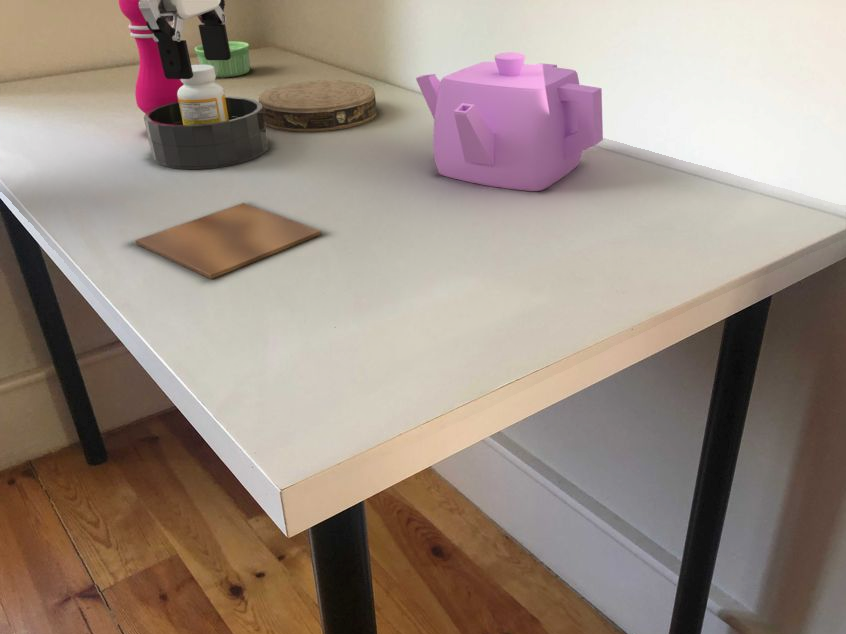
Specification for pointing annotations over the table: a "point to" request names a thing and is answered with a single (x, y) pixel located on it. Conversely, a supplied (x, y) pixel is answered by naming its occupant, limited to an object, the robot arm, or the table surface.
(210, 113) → the supplement bottle
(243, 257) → the mat
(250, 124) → the pan
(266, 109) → the wood slice
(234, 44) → the ramekin
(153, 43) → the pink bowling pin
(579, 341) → the table surface
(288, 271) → the table surface
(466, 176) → the teakettle
